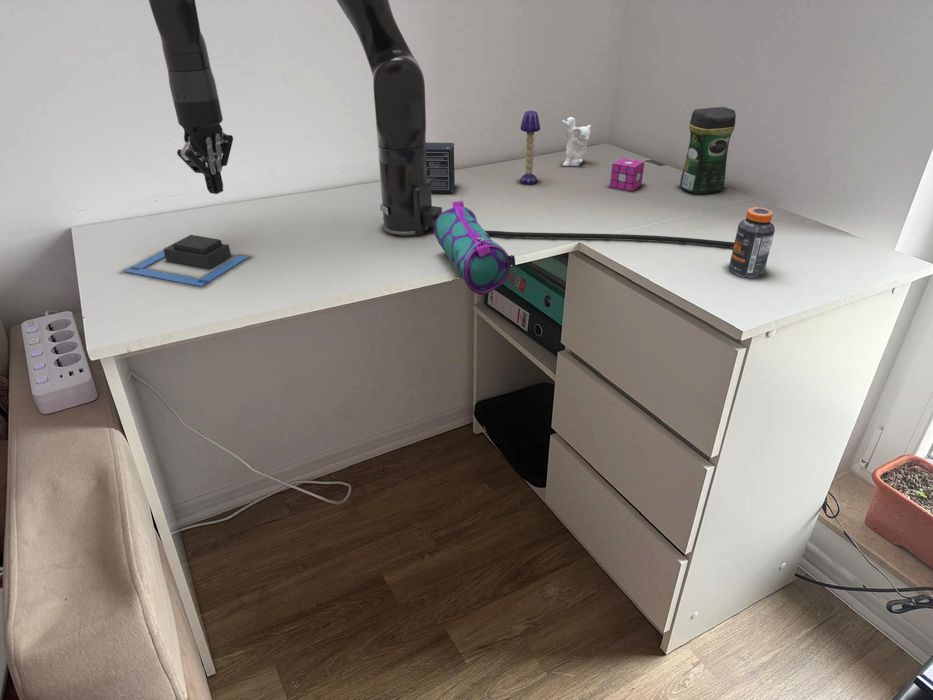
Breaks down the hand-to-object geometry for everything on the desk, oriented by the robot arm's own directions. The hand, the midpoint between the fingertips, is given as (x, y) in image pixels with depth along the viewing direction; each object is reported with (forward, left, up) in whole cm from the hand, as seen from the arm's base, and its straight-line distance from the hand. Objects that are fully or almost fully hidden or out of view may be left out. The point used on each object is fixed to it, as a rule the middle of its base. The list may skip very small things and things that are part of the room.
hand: (216, 192), depth 125 cm
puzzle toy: (-68, -62, -11) cm, 93 cm away
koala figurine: (-52, -76, -11) cm, 93 cm away
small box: (-25, -44, -11) cm, 52 cm away
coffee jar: (-85, -66, -11) cm, 108 cm away
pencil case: (-50, -4, -11) cm, 51 cm away
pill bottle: (-96, -21, -10) cm, 99 cm away
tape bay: (0, +11, -10) cm, 15 cm away
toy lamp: (-45, -57, -11) cm, 74 cm away
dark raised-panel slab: (0, +8, -10) cm, 13 cm away
